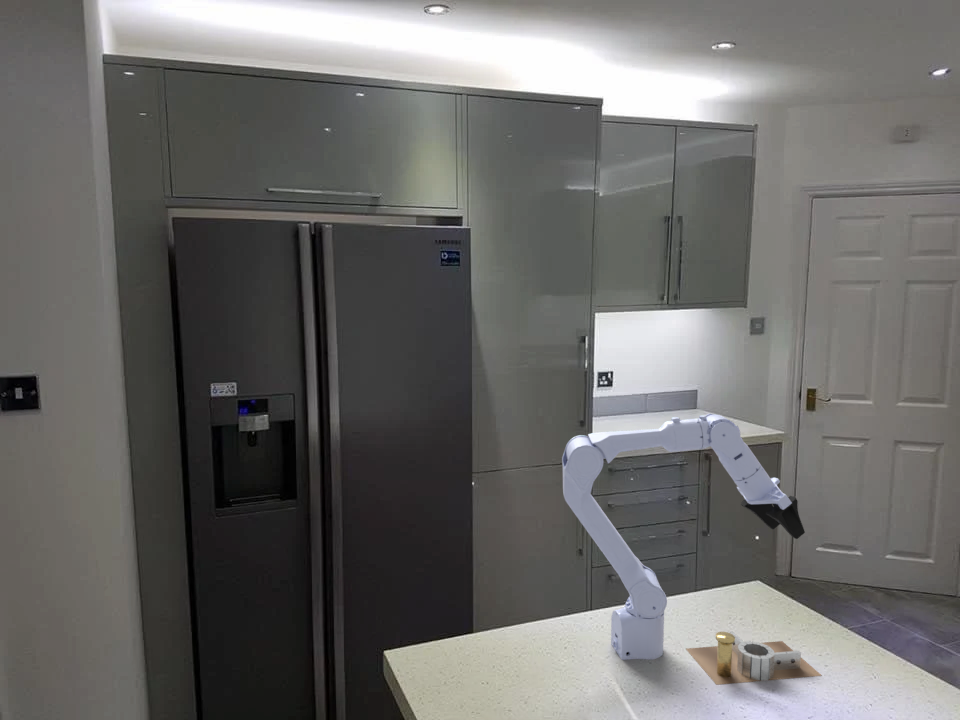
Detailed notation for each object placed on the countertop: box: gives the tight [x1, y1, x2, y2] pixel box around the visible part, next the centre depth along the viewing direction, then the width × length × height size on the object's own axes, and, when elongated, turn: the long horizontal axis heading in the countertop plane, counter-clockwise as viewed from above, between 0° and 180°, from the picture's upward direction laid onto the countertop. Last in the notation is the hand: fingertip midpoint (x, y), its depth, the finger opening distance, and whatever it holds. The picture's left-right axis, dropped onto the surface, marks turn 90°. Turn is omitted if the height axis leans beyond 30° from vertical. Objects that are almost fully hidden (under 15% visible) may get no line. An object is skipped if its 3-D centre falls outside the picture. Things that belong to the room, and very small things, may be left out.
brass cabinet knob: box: [715, 631, 735, 677], centre depth 118 cm, size 3×3×7 cm
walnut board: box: [685, 640, 822, 686], centre depth 122 cm, size 20×12×1 cm, turn 98°
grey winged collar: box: [729, 630, 802, 682], centre depth 122 cm, size 12×12×4 cm
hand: (787, 530), depth 123 cm, fingers open, 7 cm apart
